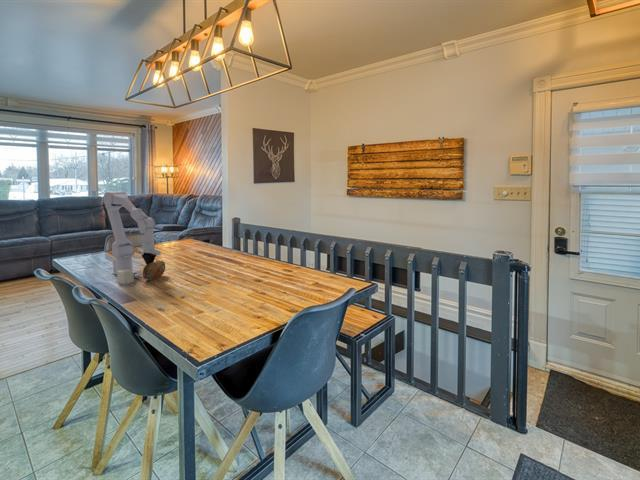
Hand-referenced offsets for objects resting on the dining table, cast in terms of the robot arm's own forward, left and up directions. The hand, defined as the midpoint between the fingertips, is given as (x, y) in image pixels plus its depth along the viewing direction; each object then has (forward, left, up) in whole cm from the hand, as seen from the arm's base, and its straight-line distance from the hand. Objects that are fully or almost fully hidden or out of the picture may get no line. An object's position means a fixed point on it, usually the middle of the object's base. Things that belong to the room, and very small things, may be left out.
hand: (149, 267), depth 185 cm
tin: (+2, 0, -5) cm, 6 cm away
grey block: (-4, -11, -6) cm, 13 cm away
